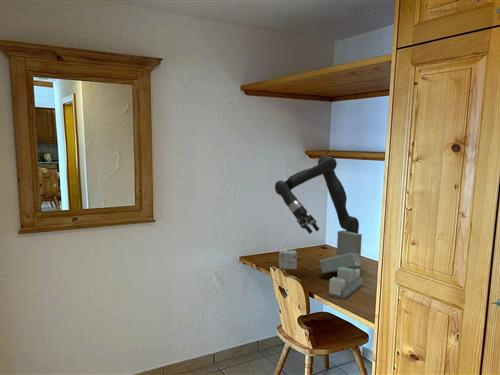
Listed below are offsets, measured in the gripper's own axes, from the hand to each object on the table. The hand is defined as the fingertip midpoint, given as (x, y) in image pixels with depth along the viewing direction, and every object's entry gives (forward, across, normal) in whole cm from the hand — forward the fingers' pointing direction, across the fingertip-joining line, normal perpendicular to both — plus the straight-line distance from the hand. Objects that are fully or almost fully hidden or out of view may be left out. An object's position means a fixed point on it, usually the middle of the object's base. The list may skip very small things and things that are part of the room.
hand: (314, 231), depth 222 cm
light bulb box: (+4, +11, +37) cm, 39 cm away
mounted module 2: (+33, +8, +5) cm, 35 cm away
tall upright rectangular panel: (+28, +26, +13) cm, 40 cm away
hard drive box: (+18, +13, +16) cm, 27 cm away
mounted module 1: (+33, -13, +5) cm, 36 cm away
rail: (+35, -2, +6) cm, 35 cm away
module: (+33, -2, +5) cm, 34 cm away
